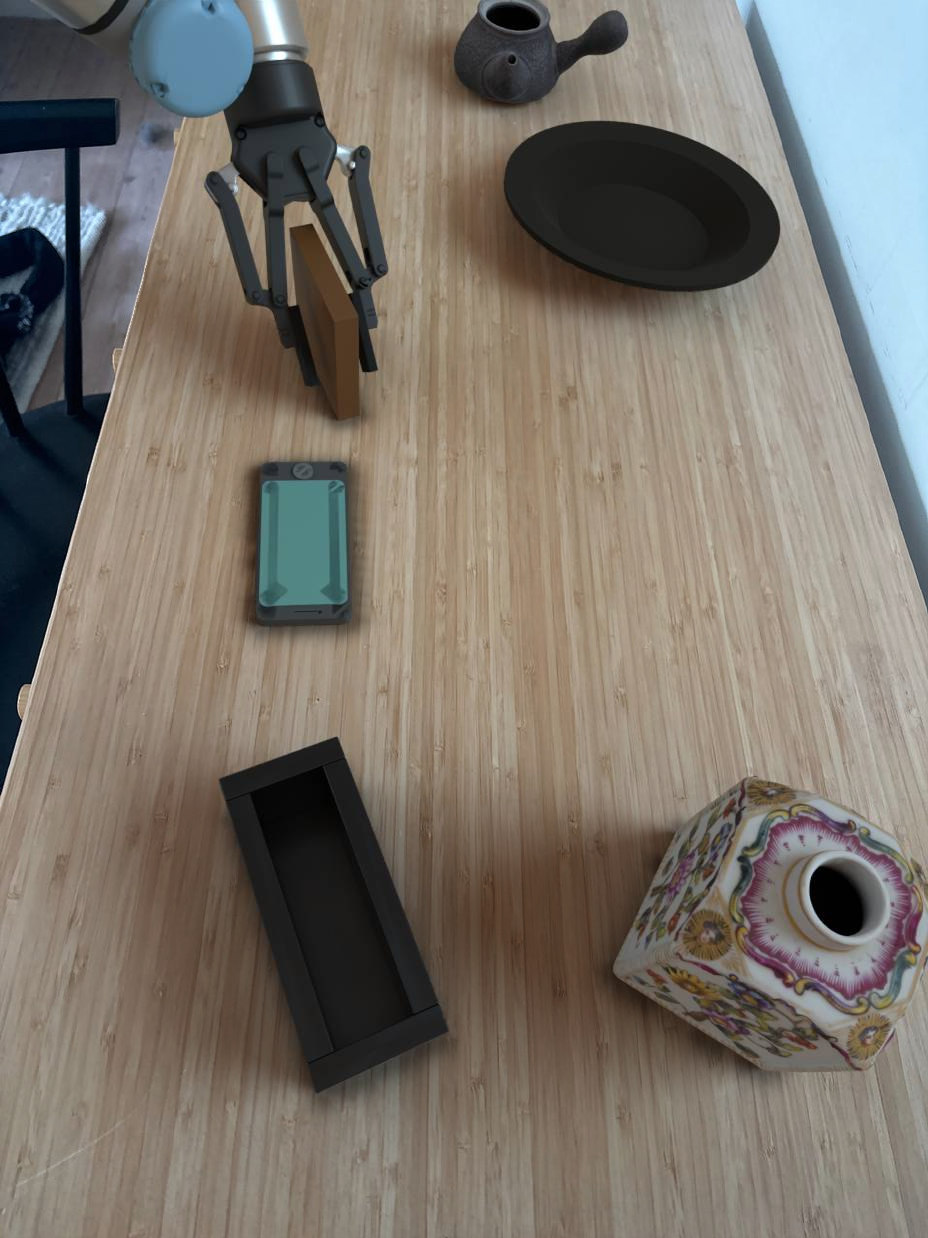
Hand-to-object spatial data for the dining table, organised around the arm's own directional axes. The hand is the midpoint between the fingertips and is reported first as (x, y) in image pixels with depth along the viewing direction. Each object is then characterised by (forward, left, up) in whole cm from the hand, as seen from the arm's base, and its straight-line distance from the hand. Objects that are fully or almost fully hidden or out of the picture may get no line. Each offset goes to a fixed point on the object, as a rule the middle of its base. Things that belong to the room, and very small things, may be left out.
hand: (341, 377), depth 74 cm
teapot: (-40, +35, -3) cm, 53 cm away
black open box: (+42, -13, -3) cm, 44 cm away
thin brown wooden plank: (-4, 0, -3) cm, 5 cm away
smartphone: (+13, -7, -3) cm, 15 cm away
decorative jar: (+52, +11, -3) cm, 53 cm away
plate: (-13, +35, -3) cm, 37 cm away
